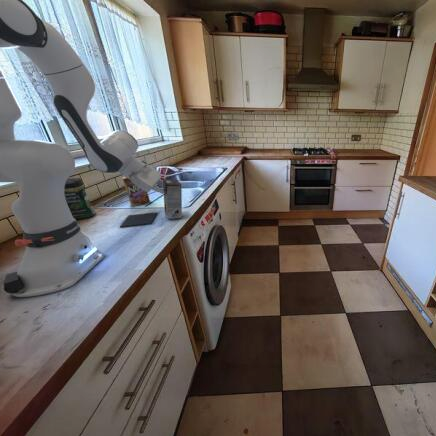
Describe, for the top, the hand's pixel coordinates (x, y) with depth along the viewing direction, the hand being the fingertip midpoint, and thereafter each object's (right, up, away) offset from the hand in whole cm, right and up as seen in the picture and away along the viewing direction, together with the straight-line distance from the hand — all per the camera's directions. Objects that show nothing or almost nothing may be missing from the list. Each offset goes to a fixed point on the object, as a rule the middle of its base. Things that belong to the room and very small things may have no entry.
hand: (165, 189), depth 103 cm
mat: (-13, -14, +1) cm, 19 cm away
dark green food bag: (-42, -12, +5) cm, 44 cm away
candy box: (-24, -5, +19) cm, 31 cm away
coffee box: (+1, -12, +4) cm, 12 cm away
